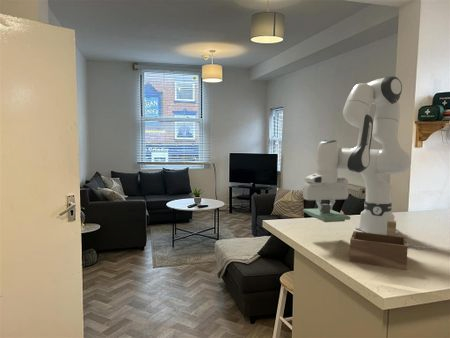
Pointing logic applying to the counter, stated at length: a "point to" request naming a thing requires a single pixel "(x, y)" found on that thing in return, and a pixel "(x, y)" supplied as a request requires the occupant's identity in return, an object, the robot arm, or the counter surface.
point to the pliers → (418, 247)
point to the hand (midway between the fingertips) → (325, 209)
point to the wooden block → (391, 227)
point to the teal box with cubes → (326, 214)
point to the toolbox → (379, 250)
